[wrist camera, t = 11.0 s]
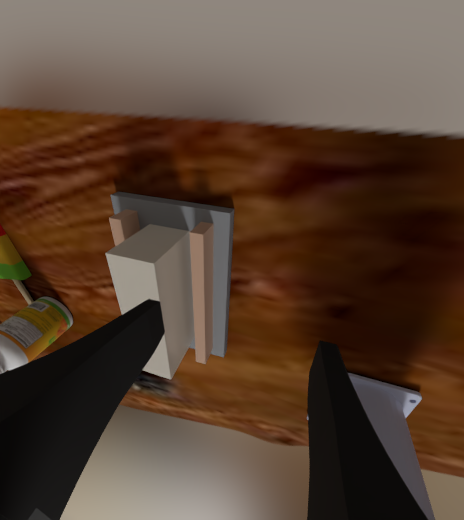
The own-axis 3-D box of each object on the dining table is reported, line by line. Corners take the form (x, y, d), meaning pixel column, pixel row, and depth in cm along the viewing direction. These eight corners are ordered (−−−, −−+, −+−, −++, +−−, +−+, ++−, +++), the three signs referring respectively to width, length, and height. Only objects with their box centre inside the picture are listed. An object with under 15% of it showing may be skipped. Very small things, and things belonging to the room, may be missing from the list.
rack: (226, 349, 26) (217, 374, 24) (146, 326, 28) (130, 346, 26) (234, 208, 18) (221, 223, 15) (118, 191, 20) (91, 202, 18)
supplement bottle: (64, 330, 35) (-11, 394, 27) (34, 303, 33) (-54, 362, 25) (80, 319, 32) (2, 387, 24) (49, 289, 31) (-46, 351, 23)
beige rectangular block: (194, 336, 25) (171, 379, 21) (164, 327, 26) (135, 367, 22) (189, 231, 19) (153, 263, 15) (149, 224, 20) (105, 252, 15)
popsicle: (-9, 200, 26) (-29, 206, 24) (57, 308, 33) (44, 317, 32) (-40, 202, 28) (-61, 207, 26) (29, 304, 35) (15, 313, 33)
